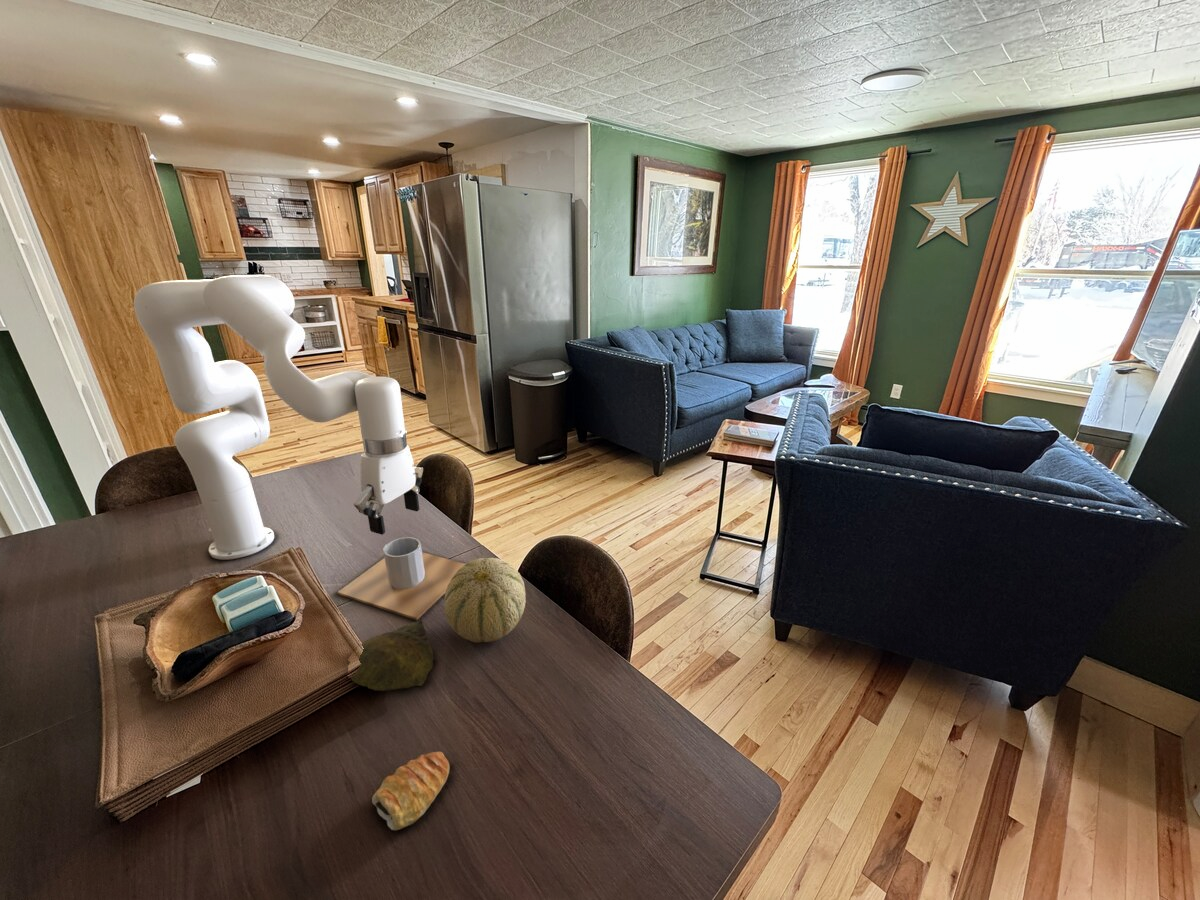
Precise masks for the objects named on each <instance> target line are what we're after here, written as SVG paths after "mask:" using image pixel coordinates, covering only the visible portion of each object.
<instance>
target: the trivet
mask: <svg viewBox="0 0 1200 900" xmlns="http://www.w3.org/2000/svg"><path fill="white" fill-rule="evenodd" d="M422 556H423V563H424V570H425V577H424V579H423V580H422V582H420V583H419V584H418V585H416V586H413V587H411V588H406V589H397V588H394V587H392V586H391V585H390V584H389V580H388V574H387V568H386V563H385V557H383V558H382V559H381V560H379V561H378V562H376V563H375V564H374V565H371V567H369V568H368V569H367V570H366V571H364V572H363V573H361V574H360V575H359V576H358V577H355V578H354V579H353V580H352V581H351V582H349V583H347V584H346V585H345V586H344V587H343V588H341V589H340V590H338V591H337V595H339V596H342V597H345V598H347V599H351V600H353V601H357V602H360V603H363V604H365V605H369V606H371V607H375V608H378V609H381V610H384V611H388V612H390V613H394V614H396V615H400V616H402V617H406V618H408V619H412V620H414V621H419V619H420V618H421V617H422V616H423V615H424V614H425V613H426V612H427V611H428V610H429V609H430V608H432V607H433V606H434V605H435V604H436V603H437V601H438V600H440V599H441V598H442V597H443V596H445V593H446V589H447V586H448V584H449V583H450V581H451V579H452V578H453V576H454V575H455V574H456V572H457V571H458V570H459V569H460V568H461V567H463V566H464V565H465V564H466V563H463V562H460V561H457V560H452V559H448V558H445V557H442V556H438V555H434V554H431V553H427V552H423V551H422Z"/></svg>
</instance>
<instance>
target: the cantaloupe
mask: <svg viewBox="0 0 1200 900" xmlns="http://www.w3.org/2000/svg"><path fill="white" fill-rule="evenodd" d="M464 564H465V565H464V566H463V567H461V568H460V569H459V570H458V571H457V572H456V574H455V575H454V576H453V578H452V579H451V581H450V583H449V584H448V586H447V589H446V593H445V594H444V601H443V603H444V615H445V619H446V621H447V623H448V624H449V626H450V628H451V630H452V631H453V632H454V633H456V634H457V635H459V636H460V637H461V638H463V639H465V640H467V641H470V642H473V643H482V642H484V643H488V642H495V641H497V640H501V638H504V637H506V636H507V635H509V633H511V632H512V631H513V630H514V629H515V628H516V626H517V625H518V623H519V622H520V620H521V618H522V617H523V614H524V612H525V608H526V603H527V602H526V601H527V600H526V599H527V597H526V587H525V582H524V580H523V577H522V575H521V573H520V572H519V571H518V570H517V569H516V568H515V567H514V566H513V565H512V564H510V563H509V562H507V561H505V560H503V559H500V558H497V557H480V558H476V559H472V560H470V561H469V562H466V563H464Z"/></svg>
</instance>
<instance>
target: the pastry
mask: <svg viewBox="0 0 1200 900" xmlns="http://www.w3.org/2000/svg"><path fill="white" fill-rule="evenodd" d="M450 768H451V767H450V762H449V760H448V759H447V758H446V756H445V754H444V753H443V752H442V751H432V752H430V753H426V754H419V756H418V757H417V758H415V759H410V760H409V761H407V763H406V764H403V765H401V766H399V767H398V768H396V770H395V771H394V773H393V774H392V775H387V776H386V777H384V779H383V781H382V782H381V785H380V787H379V788H378V789H377V790H376V791H375V793H374V794H373V795H372V797H371V803H372V805H374V807H375V808H376V811H377V814H378V815H379V817H381V818H382V819H383V820H385V821H386V824H387V827H388V828H389V829H390V830H391V831H399V830H402V829H404V828H406V827H408V826H409V827H410V826H412V825H413V824H414V823H416V822H417V821H418V820H419V819H420V818H421V817H422V816H423V815H424V814H425V813H426V811H427V810H428V809H429V808H430V806H431V804H433V802H434V801H435V799H436V797H437V796H438V794H439V793H440V792H441V791H442V788H443V787H444V786H445V784H446V782H447V780H448V777H449V774H450Z"/></svg>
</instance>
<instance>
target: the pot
mask: <svg viewBox="0 0 1200 900" xmlns="http://www.w3.org/2000/svg"><path fill="white" fill-rule="evenodd" d="M422 552H423V550H422V544H421V541H420V540H419V539H418V538H417V537H412V536H404V537H399V538H395V539H393V540H391V541H390V542H387V544H385V546H384V547H383V558H385V563H386V568H387V574H388V580H389V584H390V585H391V586H392V587H394V588H397V589H406V588H411V587H413V586H416V585H418V584H419V583H420V582H422V580H423V579H424V577H425V570H424V563H423V556H422Z"/></svg>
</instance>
